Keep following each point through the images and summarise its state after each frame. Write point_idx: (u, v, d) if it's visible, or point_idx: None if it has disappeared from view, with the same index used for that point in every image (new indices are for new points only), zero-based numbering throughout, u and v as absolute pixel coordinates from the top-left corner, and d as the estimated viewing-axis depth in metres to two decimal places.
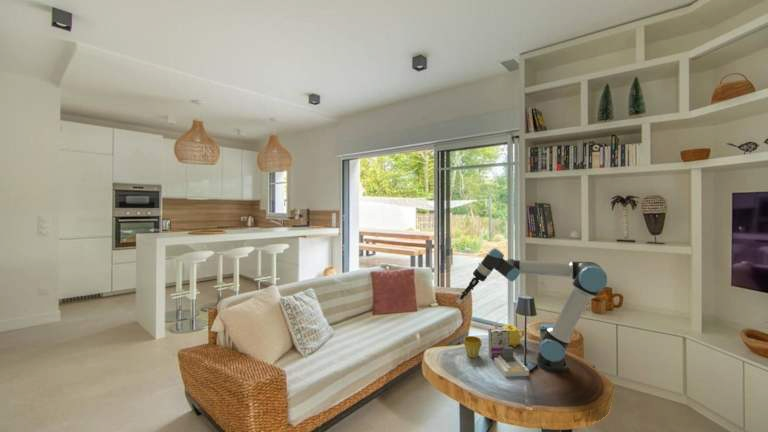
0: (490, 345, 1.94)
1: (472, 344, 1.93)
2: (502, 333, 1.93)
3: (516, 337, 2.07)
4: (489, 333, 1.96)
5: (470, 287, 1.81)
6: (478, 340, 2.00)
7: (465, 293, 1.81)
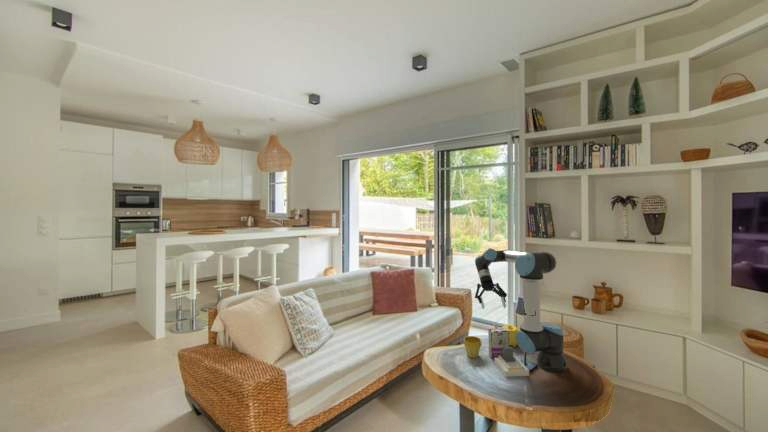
0: (490, 345, 1.94)
1: (472, 344, 1.93)
2: (502, 333, 1.93)
3: None
4: (489, 333, 1.96)
5: None
6: (478, 340, 2.00)
7: (475, 295, 2.06)
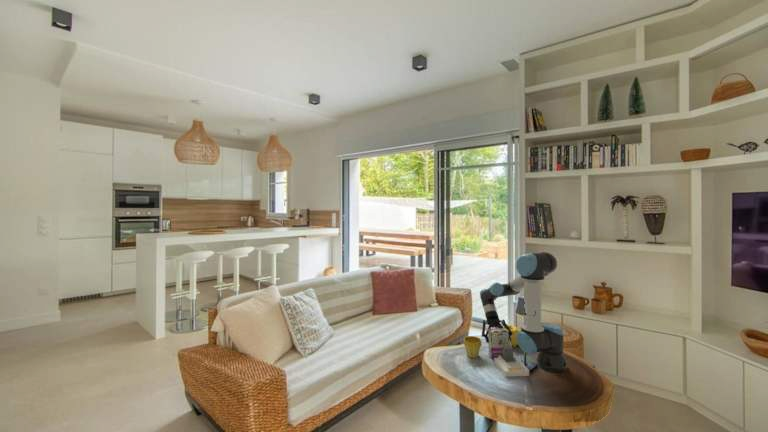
0: None
1: (472, 344, 1.93)
2: (502, 333, 1.93)
3: None
4: (489, 333, 1.96)
5: None
6: (478, 340, 2.00)
7: (482, 334, 1.98)
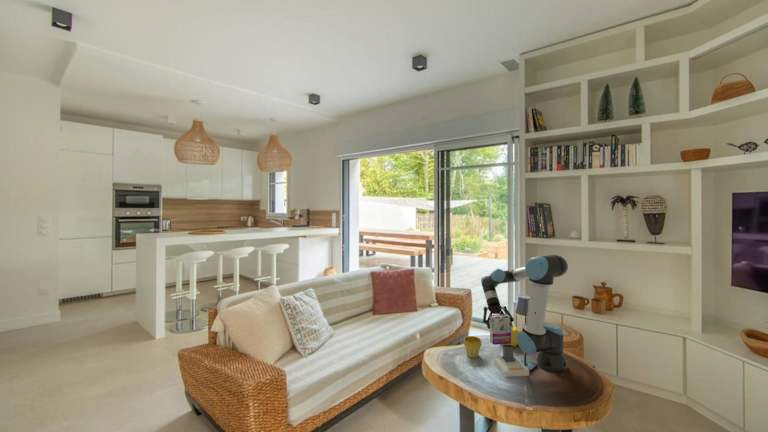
0: None
1: (472, 344, 1.93)
2: (503, 319, 1.92)
3: (516, 337, 2.07)
4: (490, 319, 1.94)
5: (484, 313, 1.99)
6: (478, 340, 2.00)
7: (483, 320, 1.97)
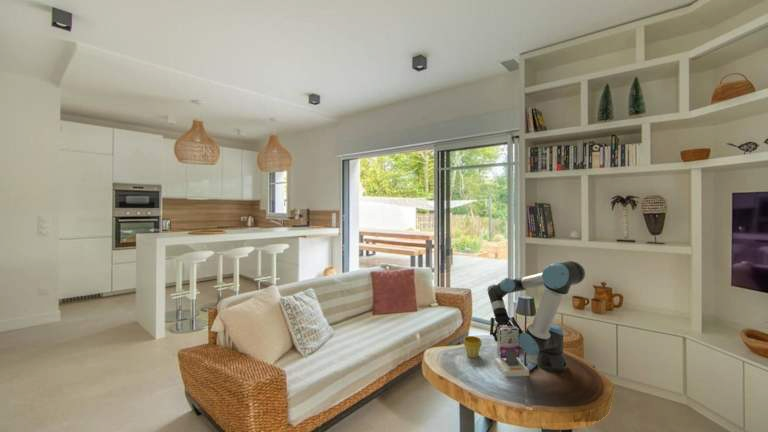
0: None
1: (472, 344, 1.93)
2: (511, 331, 1.81)
3: None
4: (498, 331, 1.84)
5: (491, 325, 1.89)
6: (478, 340, 2.00)
7: (490, 332, 1.86)
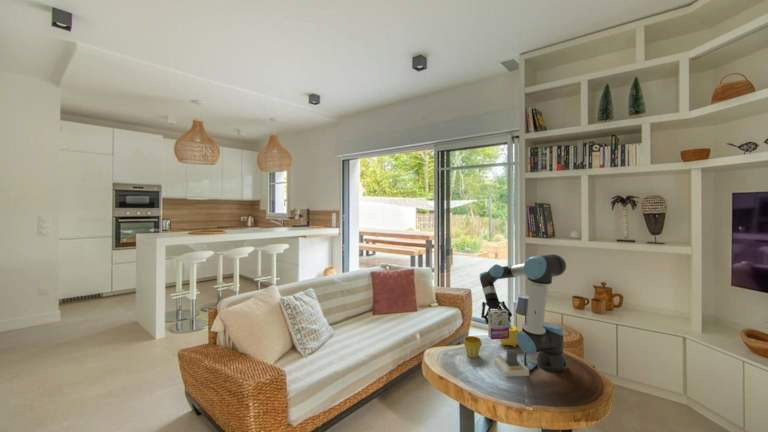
0: None
1: (472, 344, 1.93)
2: (501, 314, 1.93)
3: (516, 337, 2.07)
4: (489, 314, 1.95)
5: (482, 308, 2.01)
6: (478, 340, 2.00)
7: (481, 315, 1.98)
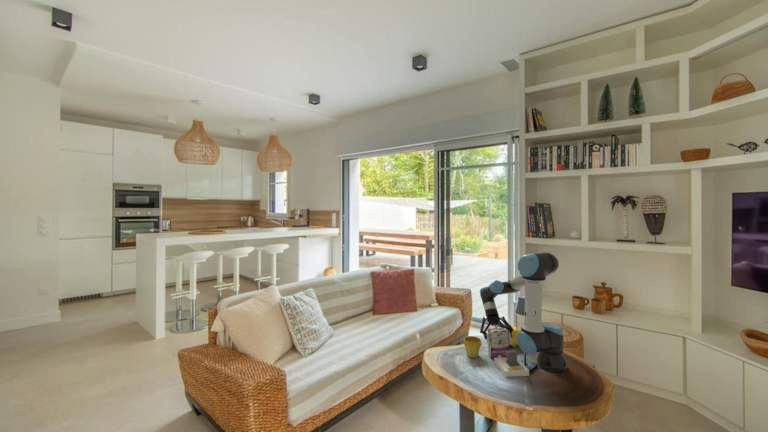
0: (490, 345, 1.94)
1: (472, 344, 1.93)
2: (501, 333, 1.93)
3: None
4: (489, 333, 1.96)
5: (482, 324, 2.01)
6: (478, 340, 2.00)
7: (480, 330, 1.99)
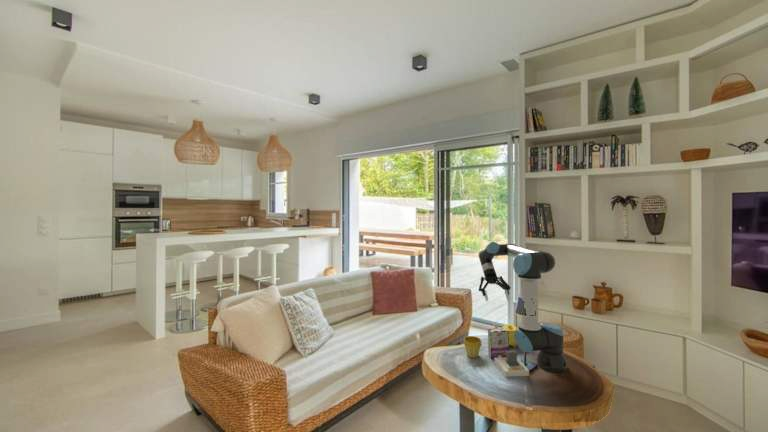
0: (490, 345, 1.94)
1: (472, 344, 1.93)
2: (501, 333, 1.93)
3: None
4: (489, 333, 1.96)
5: None
6: (478, 340, 2.00)
7: (479, 288, 2.09)
